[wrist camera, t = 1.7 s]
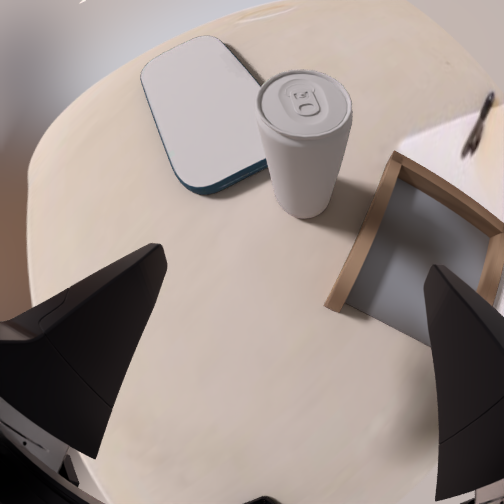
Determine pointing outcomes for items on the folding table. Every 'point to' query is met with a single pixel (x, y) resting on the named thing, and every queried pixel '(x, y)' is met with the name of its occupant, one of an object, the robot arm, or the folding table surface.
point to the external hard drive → (205, 114)
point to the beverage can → (303, 137)
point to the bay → (417, 247)
